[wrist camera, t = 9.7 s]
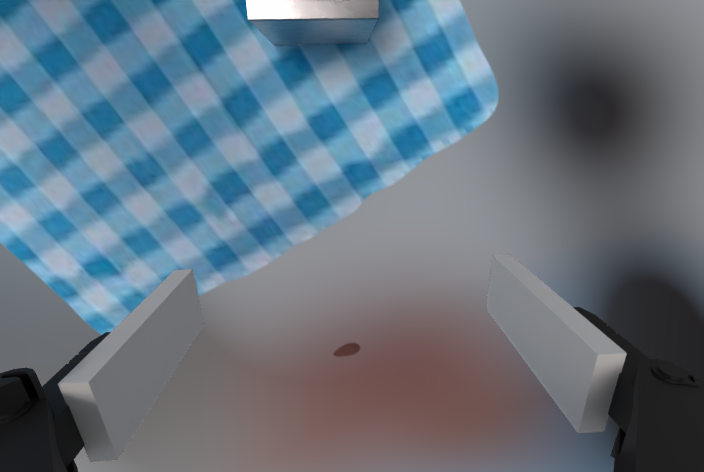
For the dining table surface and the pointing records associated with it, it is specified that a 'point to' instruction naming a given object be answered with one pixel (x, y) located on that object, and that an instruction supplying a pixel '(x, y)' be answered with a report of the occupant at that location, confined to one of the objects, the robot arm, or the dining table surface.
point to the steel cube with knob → (314, 20)
